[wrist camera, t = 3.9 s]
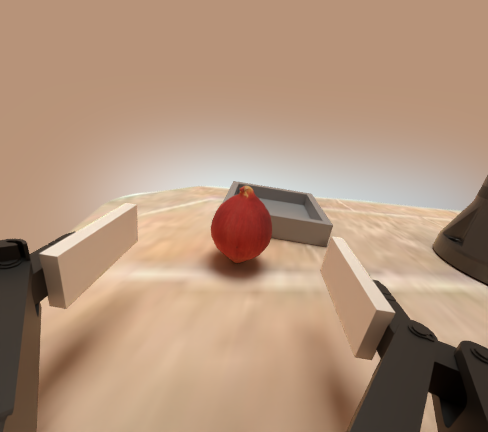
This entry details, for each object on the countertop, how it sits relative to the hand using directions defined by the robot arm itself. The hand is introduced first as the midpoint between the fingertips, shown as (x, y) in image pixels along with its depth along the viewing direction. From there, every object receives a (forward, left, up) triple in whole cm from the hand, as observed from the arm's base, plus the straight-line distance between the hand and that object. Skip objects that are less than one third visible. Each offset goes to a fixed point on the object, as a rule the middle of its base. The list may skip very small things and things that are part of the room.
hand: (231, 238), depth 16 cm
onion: (-4, -5, -6) cm, 9 cm away
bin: (-15, -14, -6) cm, 21 cm away
